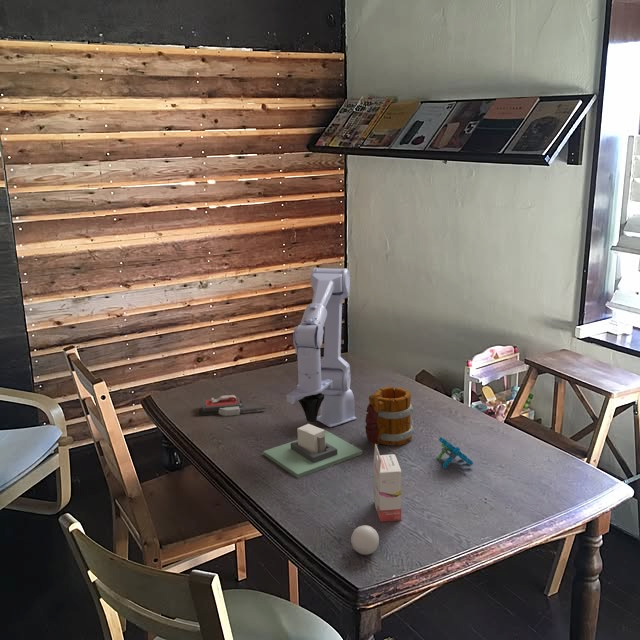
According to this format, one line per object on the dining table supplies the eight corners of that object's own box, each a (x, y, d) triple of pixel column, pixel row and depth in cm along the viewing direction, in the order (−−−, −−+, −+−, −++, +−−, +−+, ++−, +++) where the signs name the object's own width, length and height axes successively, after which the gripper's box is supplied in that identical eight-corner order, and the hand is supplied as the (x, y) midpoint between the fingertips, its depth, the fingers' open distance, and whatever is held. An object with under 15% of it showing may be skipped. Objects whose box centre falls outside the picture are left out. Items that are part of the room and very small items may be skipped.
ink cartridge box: (402, 521, 154) (402, 458, 150) (379, 522, 154) (379, 460, 150) (395, 500, 163) (395, 440, 159) (373, 502, 162) (372, 442, 158)
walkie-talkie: (198, 420, 211) (266, 413, 213) (197, 406, 209) (265, 399, 212) (198, 408, 219) (264, 402, 222) (197, 395, 218) (263, 389, 221)
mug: (421, 436, 194) (421, 384, 190) (383, 457, 183) (383, 402, 179) (389, 425, 202) (389, 375, 197) (351, 445, 190) (350, 392, 186)
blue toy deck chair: (481, 465, 174) (453, 442, 171) (466, 485, 173) (438, 461, 170) (461, 452, 184) (434, 429, 181) (446, 470, 184) (419, 448, 181)
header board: (325, 433, 198) (325, 425, 197) (362, 454, 185) (362, 445, 184) (263, 454, 187) (263, 445, 186) (298, 478, 174) (297, 468, 173)
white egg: (382, 559, 141) (381, 534, 140) (353, 561, 141) (352, 536, 139) (375, 537, 149) (374, 513, 147) (348, 539, 148) (347, 515, 147)
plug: (303, 442, 191) (302, 421, 189) (328, 452, 184) (327, 431, 183) (292, 447, 188) (291, 426, 186) (317, 458, 182) (316, 436, 180)
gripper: (318, 360, 187) (320, 408, 191) (277, 375, 178) (279, 426, 181) (338, 366, 182) (339, 415, 186) (296, 382, 173) (299, 433, 176)
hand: (311, 421), depth 183 cm, fingers closed
